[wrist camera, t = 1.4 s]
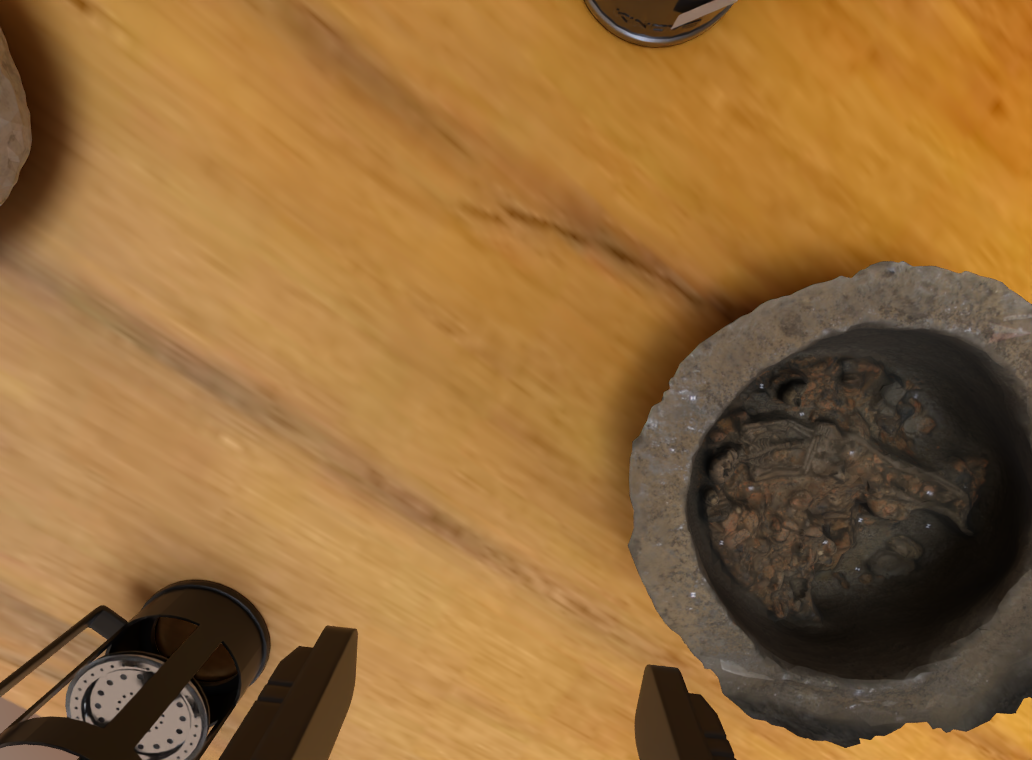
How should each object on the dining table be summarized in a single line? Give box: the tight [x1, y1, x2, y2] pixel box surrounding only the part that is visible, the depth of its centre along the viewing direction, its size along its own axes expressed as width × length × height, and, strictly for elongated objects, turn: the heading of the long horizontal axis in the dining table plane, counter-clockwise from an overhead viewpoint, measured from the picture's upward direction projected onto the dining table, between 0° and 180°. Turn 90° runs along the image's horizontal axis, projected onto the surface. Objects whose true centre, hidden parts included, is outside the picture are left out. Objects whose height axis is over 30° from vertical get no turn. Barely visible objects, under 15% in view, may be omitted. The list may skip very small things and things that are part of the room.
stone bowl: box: [628, 261, 1032, 748], centre depth 28 cm, size 25×25×9 cm
